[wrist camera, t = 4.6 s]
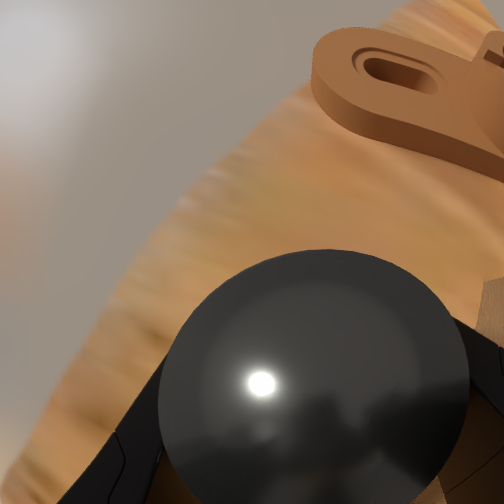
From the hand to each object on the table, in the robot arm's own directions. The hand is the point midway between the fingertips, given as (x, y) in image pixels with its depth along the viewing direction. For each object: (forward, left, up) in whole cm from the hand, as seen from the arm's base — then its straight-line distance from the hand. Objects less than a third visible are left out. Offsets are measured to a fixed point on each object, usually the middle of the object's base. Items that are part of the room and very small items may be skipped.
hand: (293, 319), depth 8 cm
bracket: (+6, -16, -8) cm, 19 cm away
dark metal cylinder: (-1, 0, -7) cm, 7 cm away
